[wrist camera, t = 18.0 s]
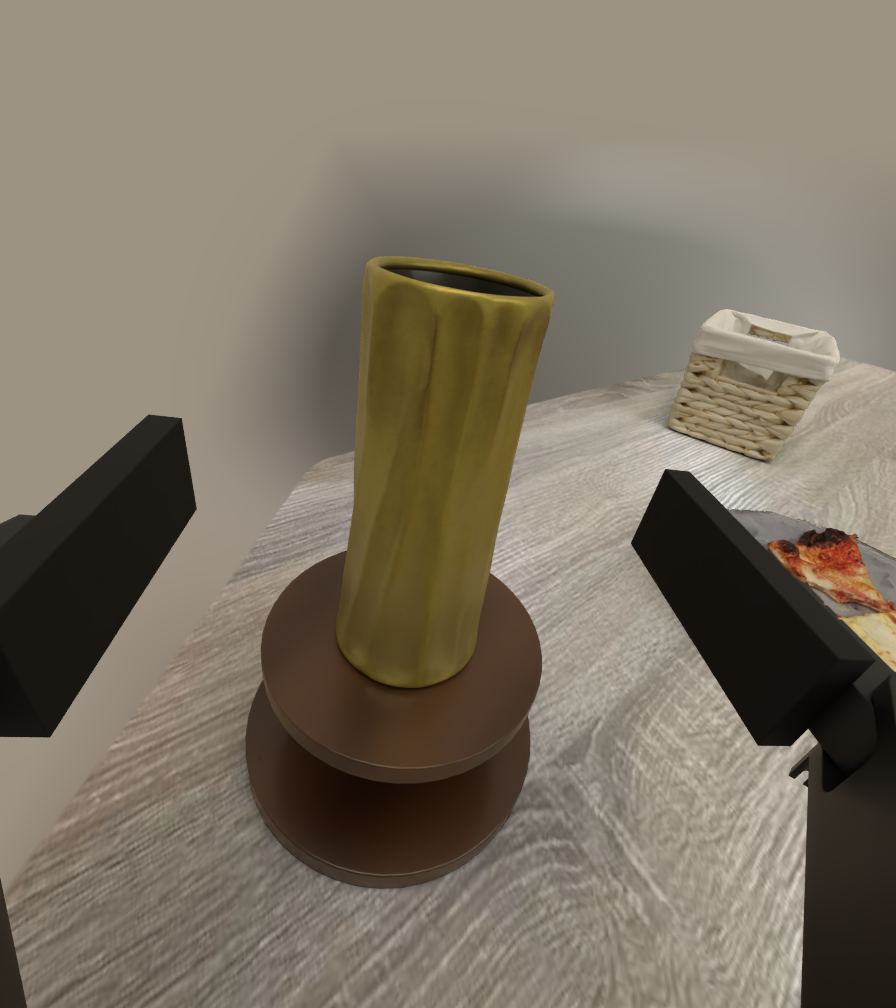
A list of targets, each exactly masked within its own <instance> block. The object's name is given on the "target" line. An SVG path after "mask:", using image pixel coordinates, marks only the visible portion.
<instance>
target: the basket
mask: <svg viewBox="0 0 896 1008" xmlns="http://www.w3.org/2000/svg"><path fill="white" fill-rule="evenodd" d="M748 334H752V335H757V336H761V337H765V338H767V339H772V340H774V341H781V342H785V343H788V345H787V346H784V345H780V344H777V343H773V342H770V341H767V340H763V339H759V338H755V337H751V336H748ZM839 358H840V355H839V350H838V348H837V343H836V340H835V339H834V338H833V337H832V336H831V335H828V333H827V332H825V331H817V330H812V329H809V328H805V327H801V326H797V325H793V324H789V323H785V322H780V321H776V320H772V319H768V318H763V317H759V316H755V315H752V314H747V313H741V312H737V311H734V310H729V309H723V310H721V311H719V312H717V313H716V314H714V315H713V316H712V317H711V318H709V319H708V320H707V321H705V322H704V323H703V324H702V326H701V328H700V331H699V333H698V335H697V338H696V340H695V342H694V343H693V345H692V350H691V355H690V361H689V363H688V365H687V371H686V372H685V374H684V379H683V381H682V382H681V387H680V389H679V390H678V393H677V397H676V398H675V403H674V405H673V407H672V411H671V413H670V418H669V422H668V426H669V427H671V428H672V429H673V430H676V431H678V432H681V433H684V434H689V435H690V436H692V437H695V438H698V439H703V440H706V441H707V442H710V443H712V444H715V445H719V446H721V447H725V448H726V449H729V450H732V451H736V452H740V453H744V454H745V455H746V456H749V457H753V458H757V459H763V460H766V461H772V460H773V459H774V457H775V456H776V454H777V453H778V452H779V450H780V449H781V447H782V446H783V444H784V440H785V439H787V437H788V436H790V434H791V433H792V431H793V429H794V426H796V424H797V423H798V422H799V421H800V420H801V419H802V417H803V415H804V412H805V409H807V408H808V406H809V405H810V402H811V401H812V400H813V399H814V397H815V394H816V392H817V391H818V390H819V389H820V387H821V386H822V385H823V384H824V383H825V382H829V381H830V378H831V377H832V375H833V372H834V369H835V367H836V366H837V365H838V363H839Z"/></svg>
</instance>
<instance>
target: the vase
mask: <svg viewBox="0 0 896 1008" xmlns="http://www.w3.org/2000/svg"><path fill="white" fill-rule="evenodd" d="M554 299H555V295H554V292H553V291H552V290H551V289H549V288H547V287H545V286H543V285H541V284H539V283H536V282H534V281H531V280H527V279H524V278H521V277H518V276H514V275H510V274H506V273H502V272H498V271H494V270H490V269H485V268H480V267H475V266H470V265H465V264H459V263H453V262H446V261H440V260H432V259H424V258H415V257H400V256H399V257H398V256H385V257H384V256H383V257H377V258H373V259H371V260H370V261H369V262H368V264H367V266H366V269H365V274H364V280H363V295H362V322H361V323H362V324H361V343H360V365H359V390H358V406H357V422H356V440H355V457H354V507H353V515H352V522H351V528H350V534H349V541H348V548H347V554H346V561H345V567H344V574H343V582H342V589H341V596H340V603H339V610H338V614H337V618H336V636H337V641H338V644H339V647H340V649H341V651H342V653H343V654H344V656H345V657H346V658H347V660H348V661H349V662H350V663H351V664H352V665H353V666H354V667H356V668H357V669H358V670H360V671H361V672H362V673H364V674H365V675H367V676H368V677H370V678H371V679H373V680H375V681H378V682H380V683H383V684H386V685H390V686H395V687H403V688H420V687H426V686H430V685H434V684H437V683H439V682H442V681H444V680H447V679H449V678H450V677H452V676H454V675H455V674H457V673H458V672H459V671H460V670H461V669H463V668H464V666H465V665H466V664H467V663H468V661H469V660H470V658H471V657H472V655H473V653H474V650H475V647H476V644H477V634H478V625H479V619H480V614H481V610H482V605H483V601H484V596H485V591H486V587H487V583H488V578H489V574H490V569H491V563H492V557H493V552H494V547H495V542H496V537H497V532H498V527H499V522H500V518H501V514H502V510H503V506H504V502H505V498H506V494H507V489H508V485H509V480H510V476H511V471H512V467H513V462H514V458H515V454H516V449H517V445H518V441H519V437H520V432H521V428H522V424H523V420H524V416H525V412H526V408H527V403H528V399H529V395H530V391H531V387H532V383H533V379H534V375H535V371H536V367H537V363H538V359H539V355H540V351H541V348H542V344H543V340H544V337H545V334H546V331H547V328H548V324H549V320H550V317H551V312H552V309H553V305H554Z"/></svg>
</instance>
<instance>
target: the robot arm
mask: <svg viewBox="0 0 896 1008" xmlns="http://www.w3.org/2000/svg"><path fill="white" fill-rule="evenodd" d="M196 509H197V508H196V502H195V496H194V490H193V485H192V478H191V472H190V466H189V460H188V455H187V448H186V442H185V436H184V430H183V423H182V418H175V417H166V416H156V415H148V416H146V418H144V419H143V420H142V421H141V422H140V423H139V424H138V425H136V426H135V427H134V428H133V429H132V430H131V431H130V432H129V433H127V434H126V435H125V436H124V437H123V438H122V439H121V440H120V441H119V442H118V443H116V444H115V445H114V446H113V447H112V448H111V449H110V450H109V451H107V452H106V453H105V454H104V455H103V456H102V457H101V458H100V459H99V460H97V461H96V462H95V463H94V464H93V465H92V466H91V467H90V468H89V469H87V470H86V471H85V472H84V473H83V474H82V475H81V476H80V477H79V478H77V479H76V480H75V481H74V482H73V483H72V484H71V485H70V486H68V487H67V488H66V489H65V490H64V491H63V492H62V493H61V494H60V495H58V496H57V498H55V499H54V500H53V501H52V502H51V503H50V504H48V505H47V506H46V507H45V508H44V509H43V510H42V511H41V512H40V513H38V514H37V515H36V516H32V515H18V516H16V517H13V518H11V519H9V520H7V521H5V522H3V523H1V524H0V737H51V735H52V734H53V732H54V730H55V729H56V727H57V726H58V724H59V723H60V721H61V720H62V718H63V716H64V715H65V713H66V712H67V710H68V708H69V707H70V706H71V704H72V702H73V701H74V699H75V697H76V696H77V694H78V693H79V691H80V690H81V688H82V687H83V685H84V684H85V682H86V681H87V679H88V677H89V676H90V674H91V673H92V671H93V670H94V668H95V666H96V665H97V663H98V662H99V660H100V659H101V657H102V656H103V654H104V652H105V651H106V649H107V648H108V646H109V645H110V643H111V642H112V640H113V638H114V637H115V635H116V634H117V632H118V631H119V629H120V627H121V626H122V624H123V623H124V621H125V620H126V618H127V616H128V615H129V614H130V612H131V610H132V609H133V607H134V606H135V604H136V603H137V601H138V599H139V598H140V596H141V595H142V593H143V592H144V590H145V589H146V587H147V586H148V584H149V582H150V581H151V579H152V578H153V576H154V575H155V573H156V571H157V570H158V568H159V567H160V565H161V564H162V562H163V561H164V559H165V557H166V556H167V554H168V553H169V551H170V550H171V547H172V546H173V545H174V543H175V542H176V540H177V539H178V537H179V536H180V534H181V533H182V531H183V529H184V528H185V526H186V525H187V523H188V522H189V520H190V519H191V517H192V515H193V514H194V512H195V511H196ZM631 544H632V546H633V548H634V549H635V551H636V552H637V554H638V556H639V557H640V559H641V560H642V562H643V564H644V565H645V567H646V568H647V570H648V571H649V573H650V575H651V576H652V578H653V579H654V581H655V583H656V584H657V586H658V587H659V589H660V591H661V592H662V594H663V595H664V597H665V599H666V600H667V602H668V603H669V605H670V606H671V608H672V610H673V611H674V613H675V614H676V616H677V618H678V619H679V621H680V622H681V624H682V626H683V627H684V629H685V630H686V632H687V633H688V635H689V637H690V638H691V640H692V641H693V643H694V645H695V646H696V648H697V649H698V651H699V653H700V654H701V656H702V657H703V659H704V661H705V662H706V664H707V665H708V667H709V668H710V670H711V672H712V673H713V675H714V676H715V678H716V680H717V681H718V683H719V684H720V686H721V688H722V689H723V691H724V692H725V694H726V695H727V697H728V699H729V700H730V702H731V703H732V705H733V707H734V708H735V710H736V711H737V713H738V715H739V716H740V718H741V719H742V721H743V723H744V724H745V726H746V727H747V729H748V730H749V732H750V734H751V735H752V737H753V738H754V740H755V742H756V743H757V745H758V746H791V745H792V744H793V743H794V742H795V741H796V740H797V739H798V738H799V737H800V736H801V735H802V734H803V733H804V732H805V731H806V730H807V729H809V730H810V731H811V733H812V734H813V735H814V737H815V738H816V739H817V741H818V742H819V743H818V744H817V745H816V746H814V747H813V748H812V749H811V750H810V751H809V752H808V753H807V754H806V755H805V756H804V757H803V758H802V759H801V760H800V761H799V762H798V763H797V764H796V765H795V766H793V767H792V768H791V771H790V773H789V776H790V777H792V778H793V779H795V778H796V777H797V776H798V775H799V774H801V773H802V772H803V771H809V778H808V779H807V780H806V781H805V782H804V783H803V785H805V786H807V787H808V808H807V838H806V867H805V897H804V927H803V957H802V987H801V1008H896V672H894V671H893V670H892V669H891V668H890V667H889V666H888V665H887V664H886V663H885V662H884V661H883V660H882V659H881V658H880V657H879V656H878V655H877V654H876V653H875V652H874V651H873V650H872V649H871V648H870V647H869V646H868V645H867V644H866V643H865V642H864V641H863V640H862V639H861V638H860V637H859V636H858V635H857V634H856V633H855V632H854V631H853V630H852V629H851V628H850V627H849V626H848V625H847V624H846V623H845V622H844V621H843V620H842V619H838V615H837V614H836V613H835V612H834V611H833V610H832V609H831V608H830V607H829V606H828V605H824V601H823V600H822V599H821V598H820V597H819V596H818V595H817V594H816V593H815V592H814V591H813V590H812V589H811V588H810V587H809V586H808V585H807V584H805V583H804V582H802V581H801V580H799V579H798V578H797V577H795V576H794V575H792V574H791V573H789V572H788V571H787V570H786V569H785V568H784V567H783V566H782V565H781V564H780V563H779V562H778V561H777V560H776V559H775V558H774V557H773V556H772V555H771V554H770V553H769V552H768V551H767V550H766V549H765V548H764V547H763V546H762V545H761V544H760V543H759V542H758V540H757V539H756V538H755V537H754V536H753V535H752V534H751V533H750V532H749V531H748V530H747V529H746V528H745V527H744V526H743V525H742V524H741V523H740V522H739V521H738V520H737V519H736V518H735V517H734V516H733V515H732V514H731V513H730V512H729V511H728V510H727V509H726V508H725V507H724V506H723V505H722V504H721V503H720V502H719V501H718V500H717V499H716V498H715V497H714V496H713V495H712V494H711V493H710V492H709V491H708V490H707V489H706V488H705V487H704V486H703V485H702V484H701V483H700V482H699V481H698V480H697V479H696V478H695V477H694V476H693V475H692V474H691V473H690V472H688V471H678V470H669V469H665V471H664V473H663V475H662V477H661V479H660V482H659V484H658V486H657V488H656V490H655V492H654V495H653V497H652V499H651V501H650V503H649V505H648V507H647V510H646V512H645V514H644V516H643V518H642V520H641V522H640V525H639V527H638V529H637V531H636V533H635V535H634V537H633V540H632V542H631ZM0 1008H27V1005H26V1000H25V995H24V990H23V985H22V981H21V976H20V971H19V966H18V961H17V957H16V952H15V947H14V942H13V937H12V932H11V928H10V923H9V918H8V913H7V908H6V904H5V899H4V894H3V889H2V884H1V879H0Z"/></svg>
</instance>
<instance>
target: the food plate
mask: <svg viewBox="0 0 896 1008" xmlns="http://www.w3.org/2000/svg"><path fill="white" fill-rule="evenodd" d="M727 510H728V511H729V512H730V513H731V514H732V515H733V516H734V517H735V518H736V519H737V520H738V521H739V522H740V523H741V524H742V525H743V526H744V527H745V528H746V529H747V530H748V531H749V532H750V533H751V534H752V535H753V536H754V537H755V538H756V539H757V540H758V542H759V543H760V544H761V545H762V546H763V547H764V548H765V549H766V550H767V551H768V552H769V553H770V554H771V555H772V556H773V557H774V558H775V559H776V560H777V561H778V562H779V563H780V564H781V565H782V566H783V567H784V568H785V569H786V570H787V571H788V572H789V573H791V574H792V575H794V576H795V577H797V578H798V579H799V580H801V581H802V582H804V583H805V584H807V585H808V586H809V587H810V588H811V589H812V590H813V591H814V592H815V593H816V594H817V595H818V596H819V597H820V598H821V599H822V600H823V601H824V605H828V606H829V607H830V608H831V609H832V610H833V611H834V612H835V613H836V614H837V615H838V619H842V620H843V621H844V622H845V623H846V624H847V625H848V626H849V627H850V628H851V629H852V630H853V631H854V632H855V633H856V634H857V635H858V636H859V637H860V638H861V639H862V640H863V641H864V642H865V643H866V644H867V645H868V646H869V647H870V648H871V649H872V650H873V651H874V652H875V653H876V654H877V655H878V656H879V657H880V658H881V659H882V660H883V661H884V662H885V663H886V664H887V665H888V666H889V667H890V668H891V669H892V670H893V671H894V672H896V558H893V557H891V556H889V555H887V554H885V553H883V552H881V551H880V550H877V549H875V548H873V547H871V546H869V545H867V544H865V543H863V542H861V541H859V540H857V539H856V538H858V537H857V535H856V534H853V535H847V534H845V533H844V532H843V531H839V530H837V529H833V528H824V527H819V526H816V524H815V525H813V524H811V523H810V522H806V521H805V520H800V519H792V518H789V517H786V516H782V515H779V514H776V513H774V512H768V511H766V512H764V511H758V510H756V511H751V510H745V511H744V510H742V511H741V510H736V509H732V510H729V509H727Z"/></svg>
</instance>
